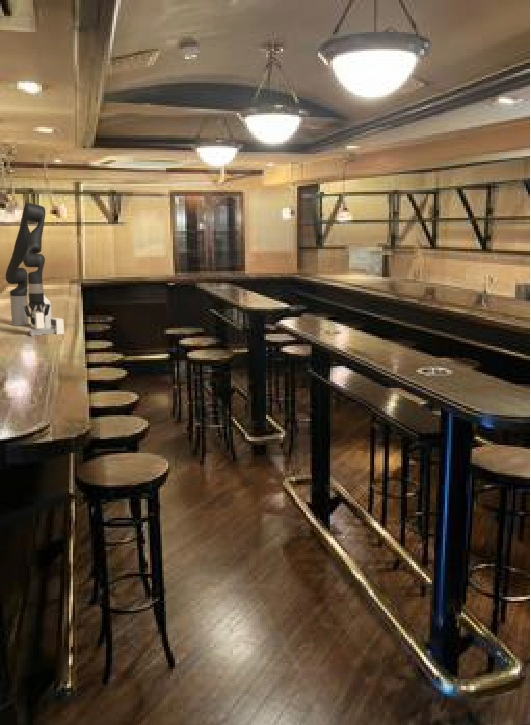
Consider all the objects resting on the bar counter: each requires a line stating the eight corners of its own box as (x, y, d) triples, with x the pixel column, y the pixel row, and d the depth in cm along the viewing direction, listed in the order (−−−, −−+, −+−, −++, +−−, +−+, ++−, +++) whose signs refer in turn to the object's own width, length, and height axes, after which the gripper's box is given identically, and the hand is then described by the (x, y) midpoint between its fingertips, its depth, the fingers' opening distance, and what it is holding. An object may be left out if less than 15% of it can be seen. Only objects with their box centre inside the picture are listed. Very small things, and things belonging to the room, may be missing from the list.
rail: (29, 335, 330) (29, 330, 330) (60, 332, 342) (59, 327, 341) (31, 336, 329) (31, 330, 328) (62, 333, 340) (61, 327, 340)
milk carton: (52, 327, 358) (50, 294, 354) (46, 329, 351) (44, 296, 347) (40, 327, 358) (38, 294, 354) (34, 329, 351) (32, 295, 347)
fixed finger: (50, 332, 341) (49, 318, 339) (58, 332, 344) (57, 317, 342) (56, 334, 336) (55, 319, 334) (64, 333, 339) (63, 319, 337)
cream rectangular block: (31, 326, 332) (30, 312, 331) (39, 326, 335) (38, 311, 334) (36, 328, 328) (36, 313, 326) (45, 327, 331) (44, 312, 329)
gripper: (45, 290, 335) (47, 322, 339) (19, 292, 325) (21, 324, 329) (52, 291, 330) (53, 323, 333) (25, 293, 320) (27, 326, 324)
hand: (37, 323), depth 331 cm, fingers closed on cream rectangular block, 4 cm apart
